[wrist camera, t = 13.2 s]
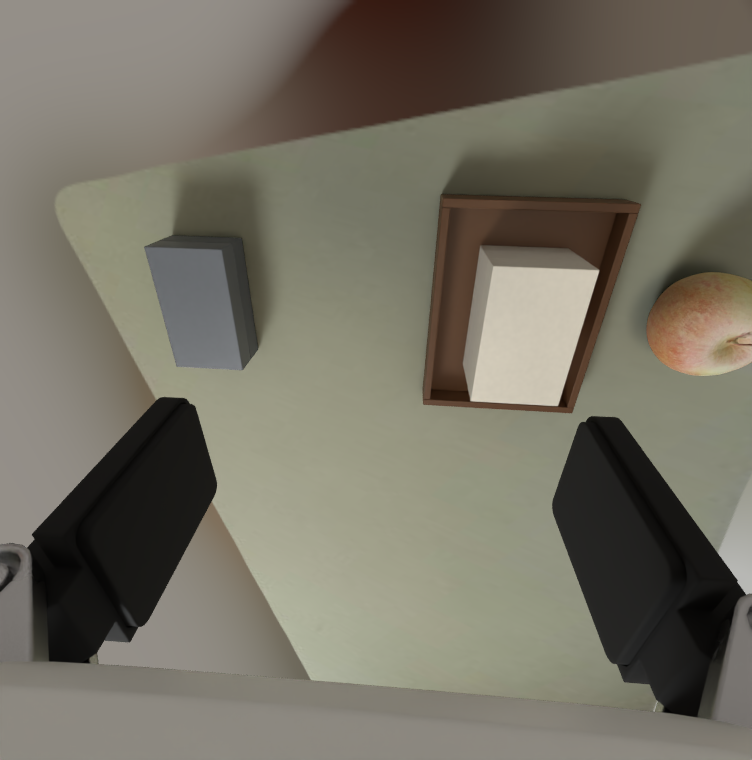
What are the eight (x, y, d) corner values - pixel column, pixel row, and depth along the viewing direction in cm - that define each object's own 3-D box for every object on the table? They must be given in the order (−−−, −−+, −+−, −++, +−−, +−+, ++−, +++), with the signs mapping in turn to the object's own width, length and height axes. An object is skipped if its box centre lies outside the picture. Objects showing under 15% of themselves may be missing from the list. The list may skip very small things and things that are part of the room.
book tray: (440, 194, 30) (442, 198, 28) (626, 199, 29) (641, 203, 27) (422, 391, 38) (423, 404, 36) (563, 399, 38) (572, 413, 36)
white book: (488, 257, 27) (493, 265, 26) (588, 261, 27) (599, 270, 25) (467, 387, 33) (470, 401, 31) (550, 392, 32) (558, 406, 31)
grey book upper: (158, 240, 31) (143, 246, 29) (232, 243, 31) (221, 249, 29) (187, 356, 36) (176, 366, 34) (251, 359, 36) (242, 370, 34)
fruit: (708, 239, 30) (797, 269, 23) (749, 307, 32) (840, 353, 25) (611, 306, 33) (664, 350, 26) (655, 364, 35) (713, 418, 28)
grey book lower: (171, 235, 33) (158, 240, 31) (241, 237, 32) (232, 243, 31) (197, 346, 38) (187, 356, 36) (258, 349, 37) (251, 359, 36)
